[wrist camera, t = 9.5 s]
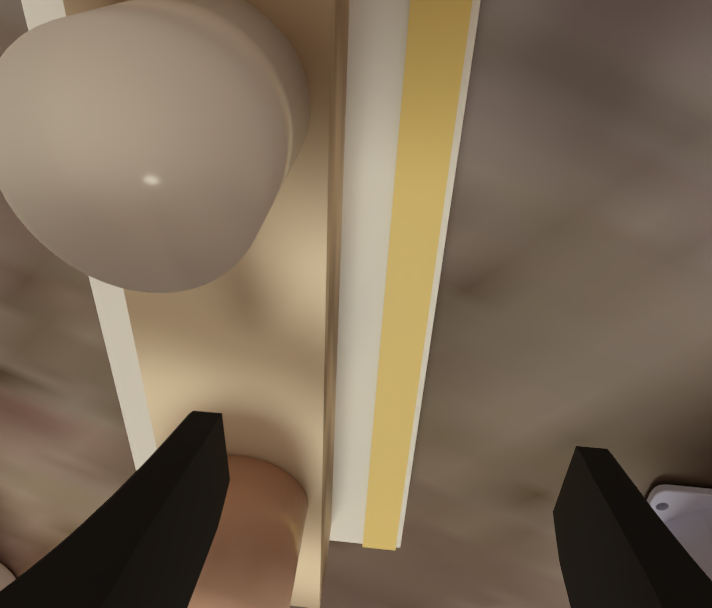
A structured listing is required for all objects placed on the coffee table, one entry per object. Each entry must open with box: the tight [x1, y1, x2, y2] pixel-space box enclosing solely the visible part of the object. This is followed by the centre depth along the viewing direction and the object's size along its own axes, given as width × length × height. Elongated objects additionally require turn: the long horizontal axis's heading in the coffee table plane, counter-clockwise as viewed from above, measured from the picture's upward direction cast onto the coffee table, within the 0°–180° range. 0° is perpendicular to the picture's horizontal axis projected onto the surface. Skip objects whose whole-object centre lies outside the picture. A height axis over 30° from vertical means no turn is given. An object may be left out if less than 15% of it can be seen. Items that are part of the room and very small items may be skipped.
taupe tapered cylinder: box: [0, 0, 310, 293], centre depth 10 cm, size 4×4×4 cm
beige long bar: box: [63, 0, 349, 608], centre depth 16 cm, size 24×5×4 cm, turn 177°
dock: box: [21, 0, 481, 550], centre depth 19 cm, size 26×11×3 cm, turn 177°
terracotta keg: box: [187, 455, 308, 608], centre depth 16 cm, size 4×4×4 cm
